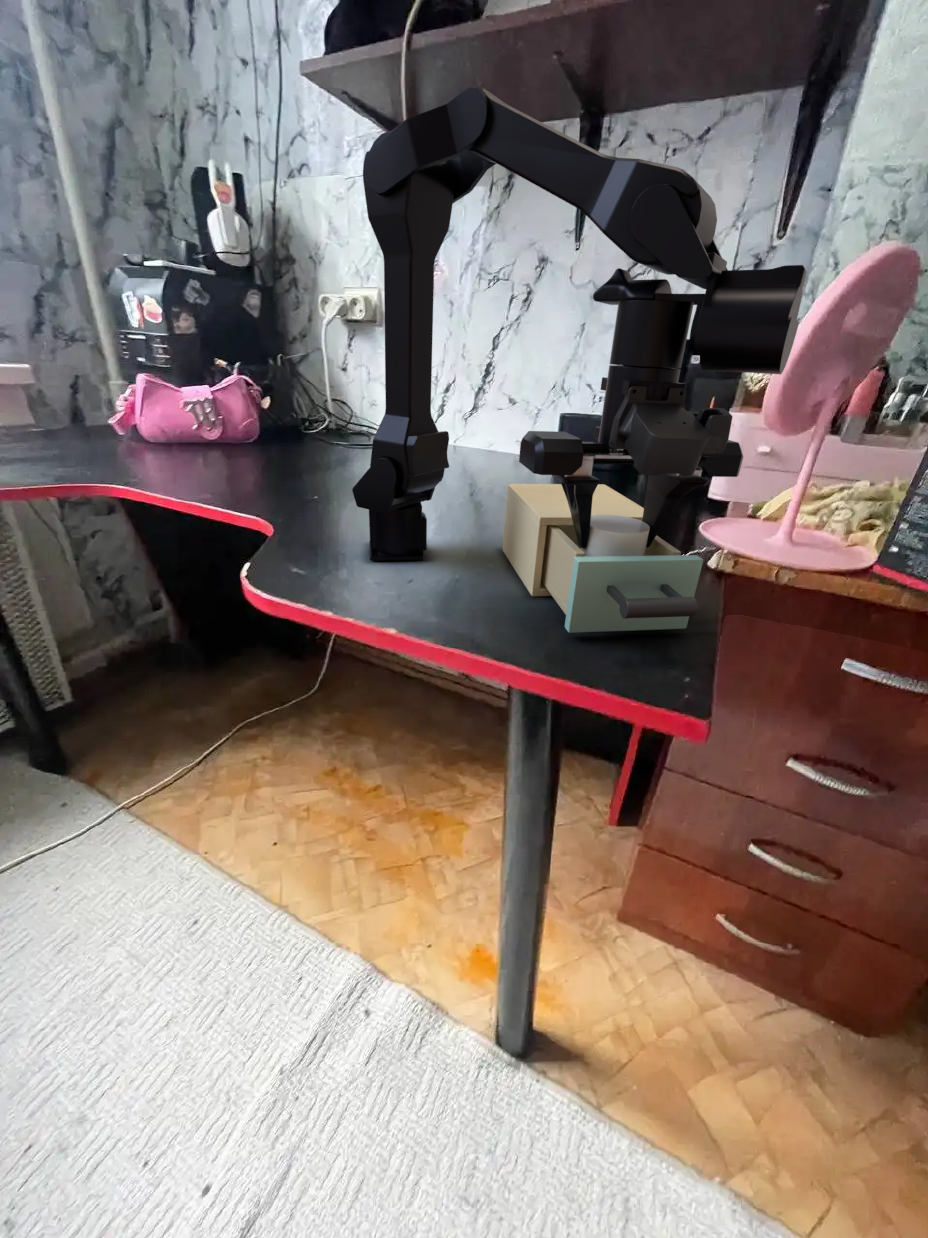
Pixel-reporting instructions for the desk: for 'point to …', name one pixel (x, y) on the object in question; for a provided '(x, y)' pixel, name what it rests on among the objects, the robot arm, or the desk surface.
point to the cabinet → (548, 523)
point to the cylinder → (616, 536)
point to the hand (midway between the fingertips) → (613, 546)
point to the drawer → (619, 585)
